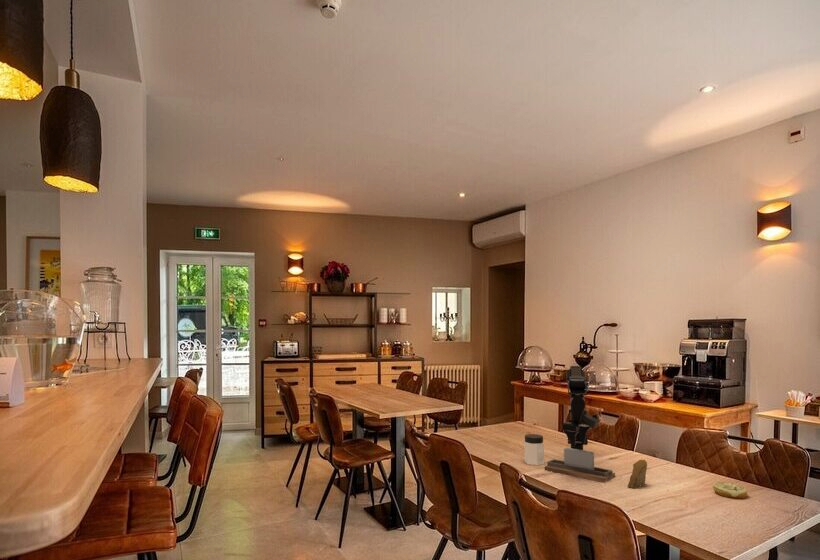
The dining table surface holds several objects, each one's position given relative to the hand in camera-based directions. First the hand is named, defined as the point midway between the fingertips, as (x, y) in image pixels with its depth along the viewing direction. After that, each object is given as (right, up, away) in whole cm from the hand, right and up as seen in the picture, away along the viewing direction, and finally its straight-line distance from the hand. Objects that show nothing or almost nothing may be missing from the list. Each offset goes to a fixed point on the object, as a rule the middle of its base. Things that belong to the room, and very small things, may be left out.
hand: (578, 445), depth 220 cm
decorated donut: (+47, -10, -27) cm, 56 cm away
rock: (+17, -11, -16) cm, 26 cm away
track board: (0, -12, -1) cm, 12 cm away
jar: (-15, -13, +15) cm, 25 cm away
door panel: (0, -10, -1) cm, 10 cm away
